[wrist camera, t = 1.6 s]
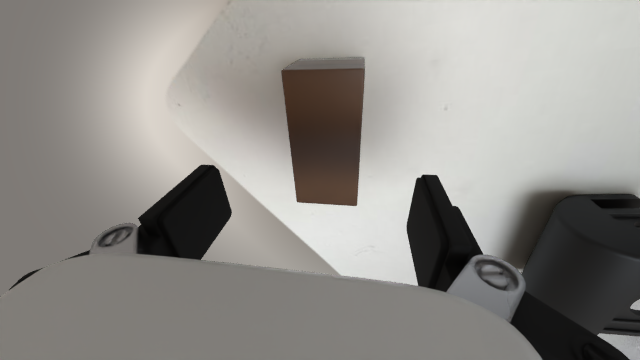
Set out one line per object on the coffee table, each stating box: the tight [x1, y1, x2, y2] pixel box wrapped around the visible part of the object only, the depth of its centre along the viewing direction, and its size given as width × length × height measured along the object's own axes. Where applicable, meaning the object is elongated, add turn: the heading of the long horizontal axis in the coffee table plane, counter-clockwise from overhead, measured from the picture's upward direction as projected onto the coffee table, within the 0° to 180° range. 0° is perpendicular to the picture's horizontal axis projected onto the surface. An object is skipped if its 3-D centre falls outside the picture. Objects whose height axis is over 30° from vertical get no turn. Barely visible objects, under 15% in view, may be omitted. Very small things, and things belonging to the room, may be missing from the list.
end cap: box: [521, 194, 640, 336], centre depth 18 cm, size 10×7×7 cm
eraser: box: [281, 57, 365, 206], centre depth 17 cm, size 9×4×4 cm, turn 2°
